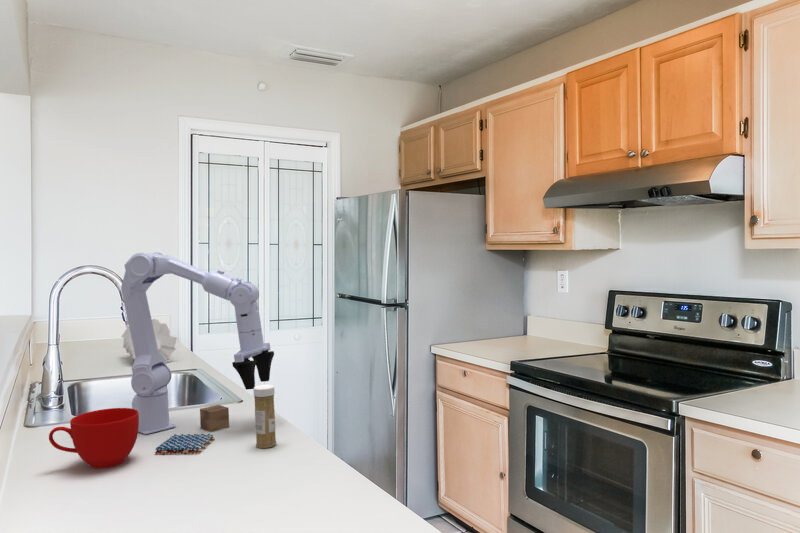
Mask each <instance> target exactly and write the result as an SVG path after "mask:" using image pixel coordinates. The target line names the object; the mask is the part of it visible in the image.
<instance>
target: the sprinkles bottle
mask: <svg viewBox="0 0 800 533" xmlns="http://www.w3.org/2000/svg"><path fill="white" fill-rule="evenodd" d="M274 396H275V385H272V384H261V385H255V387H254V389H253V397H254V422H255V423H254V424H255V426H254V427H255V438H256V443H255V446H256V448H259V449H269V448H273V447H275V446H276V445H277V441H276V439H277V438H276V417H275V416H276V415H275V397H274Z"/></svg>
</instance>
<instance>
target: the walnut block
mask: <svg viewBox="0 0 800 533" xmlns="http://www.w3.org/2000/svg"><path fill="white" fill-rule="evenodd" d="M229 412H230V410H229V407H227V406H224V405H221V404H215V405H210V406H206V407H202V408H199V418H200V419H199V422H200V429H201V430H204V431H206V432H209V433H213V432H216V431H221V430H224V429H229V428H230V414H229Z"/></svg>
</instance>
